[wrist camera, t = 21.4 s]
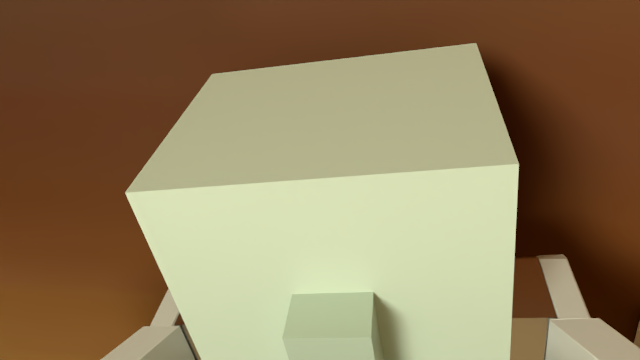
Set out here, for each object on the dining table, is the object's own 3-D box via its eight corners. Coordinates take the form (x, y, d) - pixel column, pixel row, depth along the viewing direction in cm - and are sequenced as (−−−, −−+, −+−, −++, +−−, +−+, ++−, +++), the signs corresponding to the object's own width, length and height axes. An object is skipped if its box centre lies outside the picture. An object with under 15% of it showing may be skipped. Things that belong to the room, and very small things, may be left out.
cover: (298, 363, 15) (264, 554, 11) (212, 74, 10) (96, 231, 6) (478, 363, 14) (508, 572, 10) (476, 43, 9) (533, 206, 5)
